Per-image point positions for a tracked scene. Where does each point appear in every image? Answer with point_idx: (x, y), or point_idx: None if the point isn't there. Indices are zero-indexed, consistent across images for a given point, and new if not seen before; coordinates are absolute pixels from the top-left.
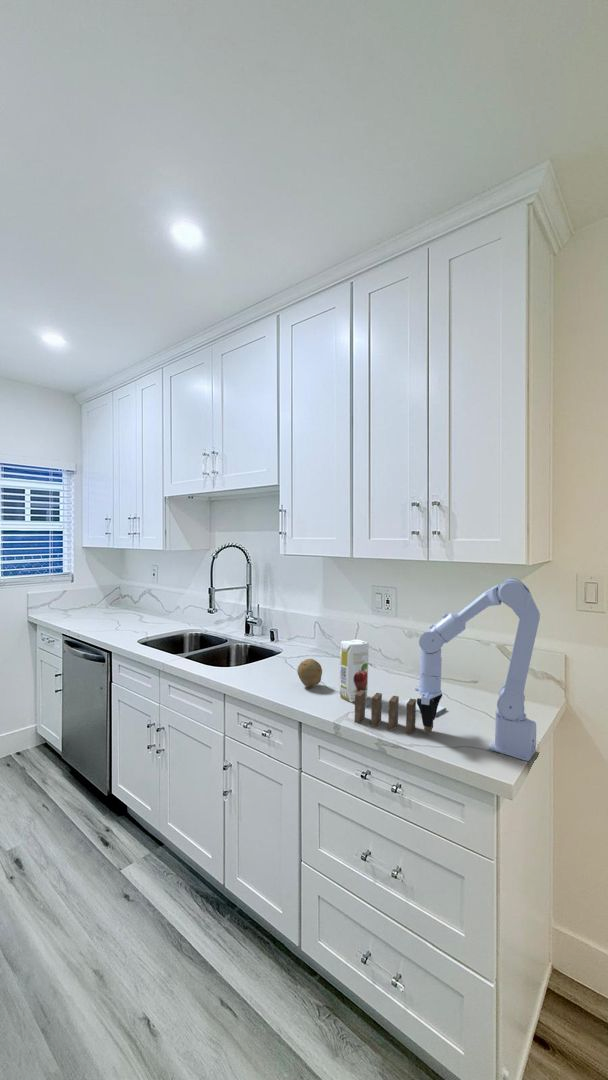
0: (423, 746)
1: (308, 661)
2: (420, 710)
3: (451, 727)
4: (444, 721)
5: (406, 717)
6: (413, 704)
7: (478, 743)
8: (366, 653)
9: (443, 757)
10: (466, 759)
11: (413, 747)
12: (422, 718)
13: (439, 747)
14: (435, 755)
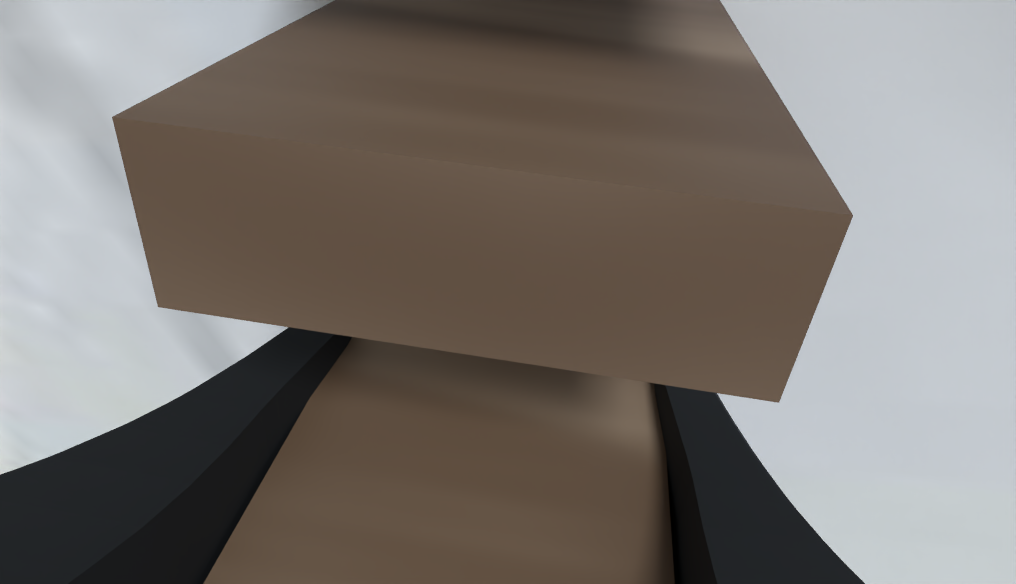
0: (124, 226)
1: None
2: (95, 443)
3: (808, 500)
4: (1011, 453)
5: (319, 14)
6: (342, 309)
7: None
8: None
9: (35, 390)
10: None
11: (15, 119)
12: (258, 356)
13: (211, 370)
14: (18, 333)
